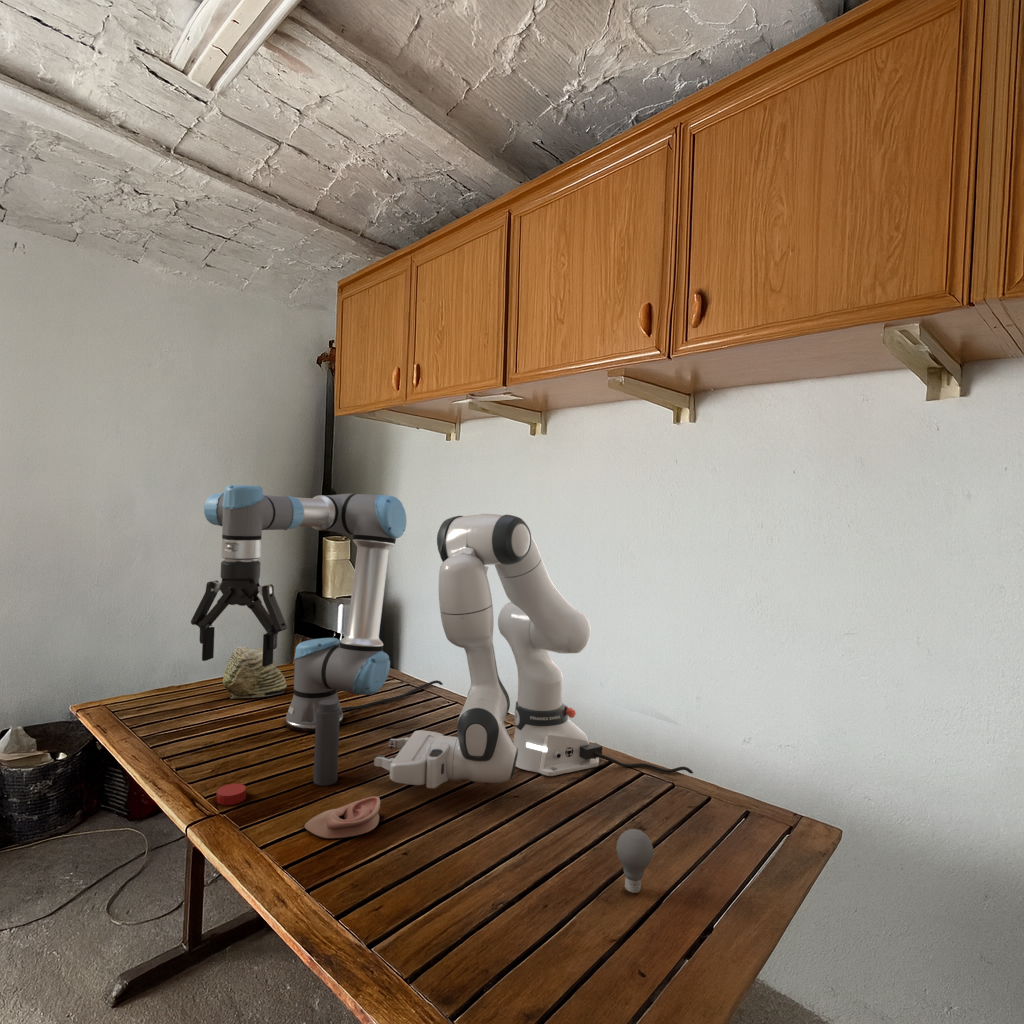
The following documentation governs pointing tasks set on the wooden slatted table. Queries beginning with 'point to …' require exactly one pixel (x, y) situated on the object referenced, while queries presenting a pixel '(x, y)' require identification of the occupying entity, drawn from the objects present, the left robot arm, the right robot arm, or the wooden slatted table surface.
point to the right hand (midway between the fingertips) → (382, 751)
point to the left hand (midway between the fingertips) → (237, 662)
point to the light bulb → (634, 857)
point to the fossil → (252, 675)
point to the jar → (326, 742)
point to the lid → (231, 794)
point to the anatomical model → (346, 819)
